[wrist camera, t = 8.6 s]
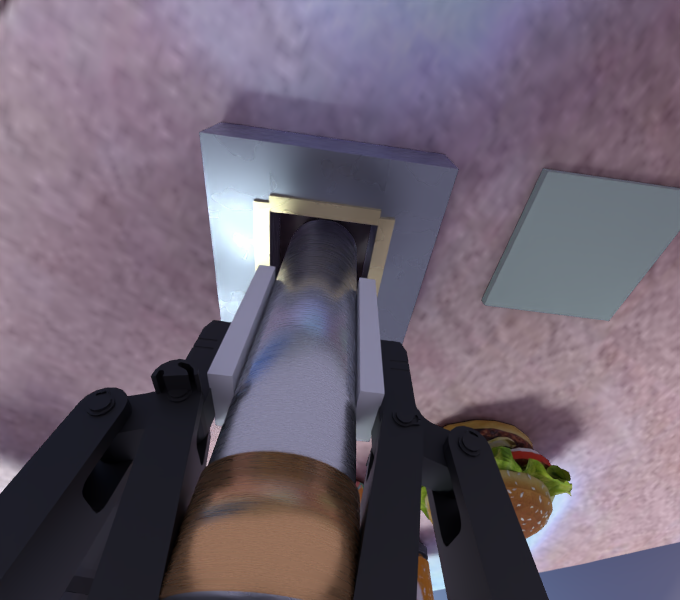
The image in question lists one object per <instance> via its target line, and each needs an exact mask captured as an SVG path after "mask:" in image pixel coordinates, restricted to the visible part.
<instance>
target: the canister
mask: <svg viewBox="0 0 680 600" xmlns="http://www.w3.org/2000/svg"><path fill="white" fill-rule="evenodd" d="M427 560H428V556H427V549H426V547H425V546H424V545H423V544H422V543H420V542H419V556H418V580H417V600H434V598H433V591H432V584H431V577H430V570H429V563H428V561H427Z"/></svg>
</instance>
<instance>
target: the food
mask: <svg viewBox="0 0 680 600" xmlns="http://www.w3.org/2000/svg"><path fill="white" fill-rule="evenodd" d="M457 426H466V427H470V428H473V429H474V430H476V431H478V432H479V433H480V434H481V435H482V436H483V437H485V438H486V440H487V442H488V443H489V445H490V447H491V450H492V452H493V455H494V458H495V460H496V463H497V465H498V468H499V471H500V473H501V476H502V478H503V481H504V484H505V486H506V489H507V492H508V494H509V497H510V499H511V502H512V505H513V507H514V510H515V513H516V515H517V518H518V520H519V523H520V526H521V528H522V531H523V533H524V536H525V539H526V538H528V537H530V536H532V535H533V534H535V533H537V532H538V531H539V530H541V529H542V528H543V527H544V525H546V524H547V521H548V520H549V517H550V515H551V513H552V510H553V509H552V501H553V499H554V497H555V495H558V494H562V493H568V494H569V495H571V493H570V491H571V490H572V483H571V484H569V482H568V481H570V480H571V478H570V474H569V472H567V471H566V470H564V469H561V468H559V467H558V466H556V465H551V464H550V462H549V461H548V460H547V459H546V458H545V457H543V456H542V455H540V454H539V453H538V452H537V451H534V449H533V446H532V443H531V441H530V439H529V438H528V436H526V435H525V434H524V433H522V432H521V431H520V430H519V429H517V428H516V427H515V426H513V425H509V424H505V423H501V422H497V421H485V420H473V421H468V422H462V423H456V424H451V425H447V426H445V427H443V428H444V429H447V430H449V431H451V430H452V429H453V428H455V427H457ZM420 510H422V511H423V513H424V514H425V515H426V517H427V518H428V519H429V520H430V521H431V522H432V517H431V511H430V506H429V501H428V496H427V491H426V487H424V486H422V485H421V509H420ZM545 523H546V524H545ZM432 524H433V522H432Z"/></svg>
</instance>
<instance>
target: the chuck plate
mask: <svg viewBox="0 0 680 600" xmlns="http://www.w3.org/2000/svg"><path fill="white" fill-rule="evenodd" d="M199 134H200V143H201V151H202V160H203V169H204V177H205V186H206V195H207V203H208V212H209V221H210V229H211V238H212V247H213V256H214V264H215V273H216V282H217V290H218V299H219V308H220V316H221V321H225V322H232V320H233V318H234V316H235V314H236V312H237V310H238V308H239V305H240V303H241V301H242V299H243V297H244V295H245V293H246V291H247V289H248V287H249V285H250V282H251V280H252V278H253V276H254V274H255V272H256V270H257V268H258V266H259V265H266V266H273V267H275V282H276V279H277V276H278V273H279V269H280V215H281V213H287V214H294V215H302V216H309V217H317V218H324V219H332V220H339V221H347V222H354V223H362V224H369V225H371V229H370V234H369V239H368V245H367V250H366V255H365V260H364V265H363V271H362V276H361V278H367V279H375V281H376V293H377V306H378V318H379V330H380V340H388V341H396V342H400V343H401V344H402V343H403V340H404V337H405V334H406V331H407V328H408V324H409V321H410V318H411V315H412V312H413V309H414V306H415V303H416V300H417V297H418V294H419V290H420V287H421V284H422V281H423V278H424V275H425V272H426V269H427V266H428V263H429V260H430V256H431V253H432V250H433V247H434V244H435V241H436V238H437V235H438V232H439V229H440V225H441V222H442V219H443V216H444V213H445V210H446V207H447V204H448V201H449V198H450V195H451V191H452V188H453V185H454V182H455V179H456V176H457V173H458V170H459V169H458V168H457V167H456V166H455V165H454V164H453V163H452V161H451V160H450V159H449V158H448V157H447V156H446V155H445V154H439V153H432V152H425V151H418V150H411V149H404V148H397V147H390V146H383V145H376V144H370V143H363V142H356V141H349V140H342V139H335V138H328V137H321V136H314V135H307V134H300V133H293V132H286V131H279V130H272V129H265V128H258V127H251V126H244V125H237V124H230V123H223V122H221V123H218V124H216V125H214V126H212V127H210V128H207V129H205V130H203V131H201V132H199ZM358 283H359V282H357V288H358Z"/></svg>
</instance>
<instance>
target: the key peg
mask: <svg viewBox="0 0 680 600" xmlns="http://www.w3.org/2000/svg"><path fill="white" fill-rule="evenodd" d="M356 293H357V248H356V243H355V241H354V238H353V237H352V235H351V234H350V232H349V231H348V230H347V229H346V228H344V227H343V226H342V225H340V224H338V223H336V222H333V221H330V220H313V221H310V222H307V223H305V224H303V225H302V226H300V227H299V228H298V229H297V230H296V231H295V233H294V234H293V236H292V238H291V241H290V243H289V246H288V249H287V252H286V254H285V257H284V260H283V262H282V265H281V268H280V271H279V273H278V276H277V279H276V282H275V284H274V287H273V290H272V292H271V295H270V298H269V301H268V303H267V306H266V309H265V311H264V314H263V317H262V320H261V322H260V325H259V328H258V330H257V333H256V336H255V339H254V341H253V344H252V347H251V349H250V352H249V355H248V358H247V360H246V363H245V366H244V369H243V371H242V374H241V377H240V379H239V382H238V385H237V388H236V390H235V393H234V396H233V398H232V401H231V404H230V407H229V409H228V412H227V415H226V417H225V420H224V423H223V426H222V428H221V431H220V434H219V436H218V439H217V442H216V445H215V447H214V450H213V453H212V456H211V458H210V461H209V464H208V466H207V467H205V469H204V470H203V471H202V472H201V474H200V476H199V479H198V482H197V484H196V487H195V490H194V492H193V495H192V498H191V500H190V503H189V505H188V508H187V511H186V513H185V516H184V519H183V521H182V524H181V527H180V529H179V532H178V535H177V538H176V541H175V544H174V547H173V550H172V553H171V557H170V560H169V563H168V567H167V570H166V573H165V577H164V580H163V584H162V587H161V591H160V595H159V598H160V599H161V600H353V595H354V587H355V580H356V572H357V564H358V554H359V545H360V494H359V491H358V488H357V486H356Z"/></svg>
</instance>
